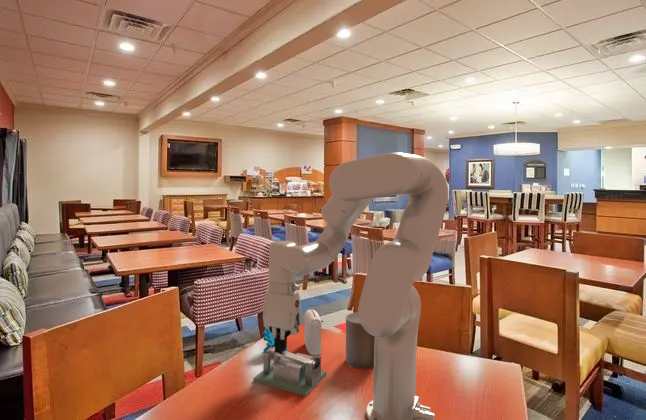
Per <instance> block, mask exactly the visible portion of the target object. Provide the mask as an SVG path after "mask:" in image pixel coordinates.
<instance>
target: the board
mask: <svg viewBox="0 0 646 420" xmlns="http://www.w3.org/2000/svg"><path fill="white" fill-rule="evenodd" d="M273 365H274V361H273V362H272V363H270V374H269V375H265V374H263V370H261V371H260V372H259V373H258V374H256V375H255V376H254V377H253V378H252V379H253V381H252V382H254V383H258V384H261V385H264V386H268V387H272V388H274V389H279V390H283V391H285V392H289V393H293V394H295V395H299V396H303V397H307V395H309V394H310V393H311V391H313V389H314V388H315V387H317V385H318V384H319V383H320V382H321V381H322V380H323V379H324V378H325V377H326V376H327V371H326V370H322V369H321V377H320V378H319V379H318V380H317V381H316V383H315V384H314V385H313V386H309V385H306V384H305V381H304V382H303V383H302V384H301V385H300V386H297V385H294V384H290V383H287V382H283V381H279V380H276V379H273Z"/></svg>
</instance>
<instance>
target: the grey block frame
mask: <svg viewBox="0 0 646 420" xmlns="http://www.w3.org/2000/svg"><path fill="white" fill-rule="evenodd" d="M296 354H297V355H299V356H302V357H305V358H308V359H311V360H317V361H318V364H316V365H315V366H314V367H313V364H312V363H307V362H306V363H305V365H302V364H299V363H296V362H294V361H291V360H288V359H285V358H282V357H279V356H277V355H274V354H273V362H274V365H273V379H276V380H279V381H283V382H287V383H290V384H294V385H297V386H300V385H301V384H302V383H303V382H304V381H305V384H306V385H309V386H313V385H314V384H315V383H316V381H317V380H318V379H319V378H320V377H321V370H322V357H321V356H320V355H310V354H304V353H300V352H297V353H296ZM262 356H263V359H262V360H263V362H262V363H263V370H262V371H263V374H265V375H269V374H270V365H271V353H263V355H262Z"/></svg>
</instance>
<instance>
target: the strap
mask: <svg viewBox="0 0 646 420" xmlns="http://www.w3.org/2000/svg"><path fill="white" fill-rule="evenodd" d="M269 354H270V355H271V354H272V355H273V356H274V355H277V356H279V357H280V358H281V359H282V358H285V359H288V360H291V361H294V362H296V363H299V364H302V365H305V363H306V362H307V363H312V364H313V367H314V366H315V365H316V364H318V361H317V360H311V359H308V358H305V357H302V356H299V355H297V353H293V352H290V351H288V350H287V351H283V352H282V353H281V354H280V353H278V352H277V353H276V352H275V347H271V348H270V349H269Z"/></svg>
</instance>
